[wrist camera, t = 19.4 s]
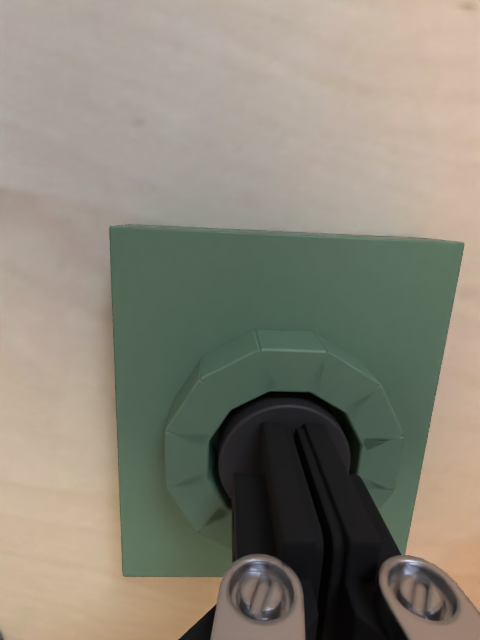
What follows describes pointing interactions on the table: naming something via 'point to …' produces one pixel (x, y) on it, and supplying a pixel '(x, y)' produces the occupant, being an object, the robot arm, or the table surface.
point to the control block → (266, 367)
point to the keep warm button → (273, 407)
